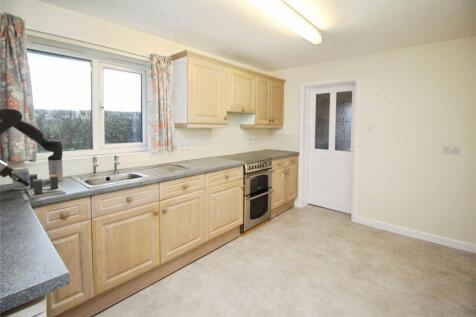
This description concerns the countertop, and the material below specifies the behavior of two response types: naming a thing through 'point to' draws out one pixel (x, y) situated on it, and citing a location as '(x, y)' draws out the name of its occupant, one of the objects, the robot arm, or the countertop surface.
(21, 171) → the supplement tub
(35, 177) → the grey base plate
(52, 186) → the breaker
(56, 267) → the countertop surface
